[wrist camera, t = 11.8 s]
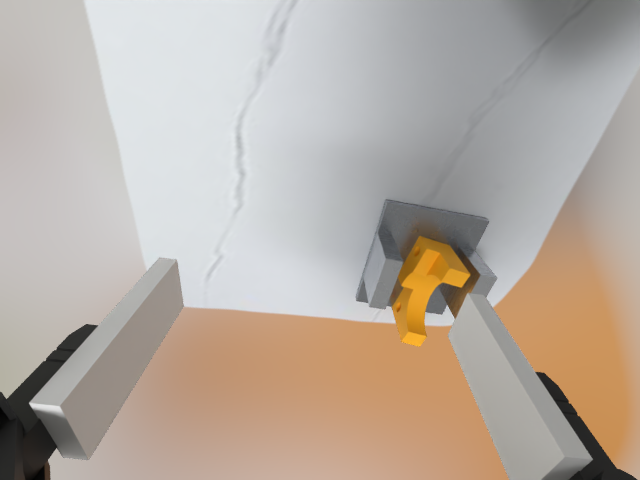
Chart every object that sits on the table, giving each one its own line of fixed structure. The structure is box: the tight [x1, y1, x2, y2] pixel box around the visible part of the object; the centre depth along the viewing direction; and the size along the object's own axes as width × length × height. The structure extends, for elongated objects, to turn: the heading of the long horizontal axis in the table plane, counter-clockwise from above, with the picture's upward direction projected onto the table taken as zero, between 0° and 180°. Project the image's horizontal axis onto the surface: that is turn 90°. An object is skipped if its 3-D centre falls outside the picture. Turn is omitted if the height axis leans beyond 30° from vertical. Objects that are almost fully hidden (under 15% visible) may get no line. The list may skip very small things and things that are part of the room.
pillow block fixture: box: [356, 200, 497, 319], centre depth 38 cm, size 16×13×7 cm
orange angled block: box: [392, 236, 471, 347], centre depth 39 cm, size 12×4×6 cm, turn 162°
